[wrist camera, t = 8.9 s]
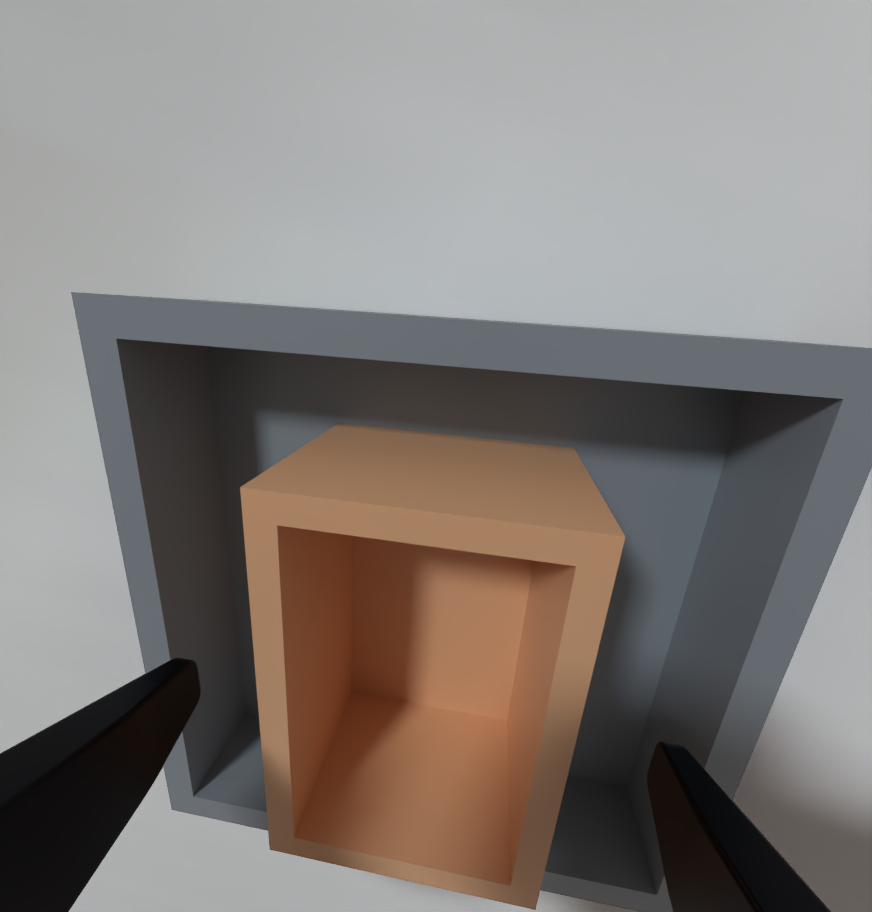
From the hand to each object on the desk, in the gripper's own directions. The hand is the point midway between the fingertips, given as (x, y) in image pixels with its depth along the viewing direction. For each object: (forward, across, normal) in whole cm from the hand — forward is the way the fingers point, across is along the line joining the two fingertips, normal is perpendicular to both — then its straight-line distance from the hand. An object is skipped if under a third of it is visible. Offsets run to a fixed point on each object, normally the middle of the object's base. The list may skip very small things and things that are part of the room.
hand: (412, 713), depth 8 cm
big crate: (+5, 0, 0) cm, 5 cm away
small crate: (+4, 0, 0) cm, 4 cm away
